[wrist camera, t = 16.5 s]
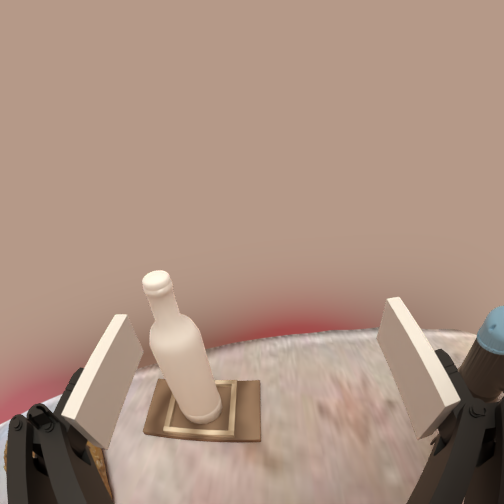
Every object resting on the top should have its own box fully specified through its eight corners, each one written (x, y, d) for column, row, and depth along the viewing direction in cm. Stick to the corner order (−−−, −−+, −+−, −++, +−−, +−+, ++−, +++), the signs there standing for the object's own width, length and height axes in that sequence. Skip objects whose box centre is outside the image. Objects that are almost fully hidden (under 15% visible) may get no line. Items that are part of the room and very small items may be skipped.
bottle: (230, 412, 44) (196, 278, 31) (194, 431, 40) (133, 303, 27) (209, 386, 50) (172, 255, 37) (176, 403, 46) (120, 274, 33)
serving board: (260, 383, 52) (259, 377, 51) (260, 441, 39) (260, 437, 38) (159, 382, 52) (156, 376, 52) (145, 434, 40) (140, 429, 39)
